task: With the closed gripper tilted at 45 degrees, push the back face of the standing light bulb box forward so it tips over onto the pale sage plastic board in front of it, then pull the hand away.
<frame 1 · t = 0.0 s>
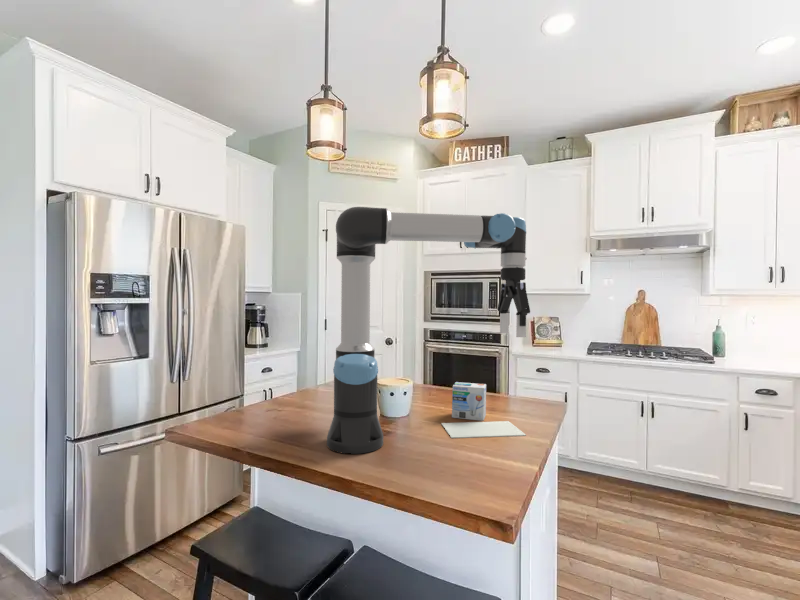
hand: (512, 335, 131), 28 cm above the countertop, tool pointing down, fingers open, 13 cm apart
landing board: (481, 429, 125), on the countertop
light bulb box: (469, 417, 138), on the countertop
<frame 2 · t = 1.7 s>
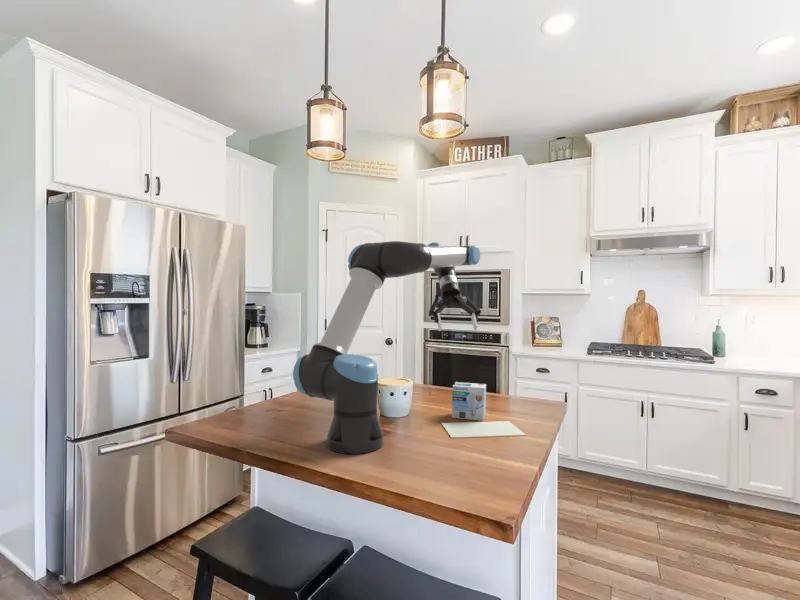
hand: (458, 328, 155), 28 cm above the countertop, tool tilted 45°, fingers open, 13 cm apart
nothing on the countertop moved.
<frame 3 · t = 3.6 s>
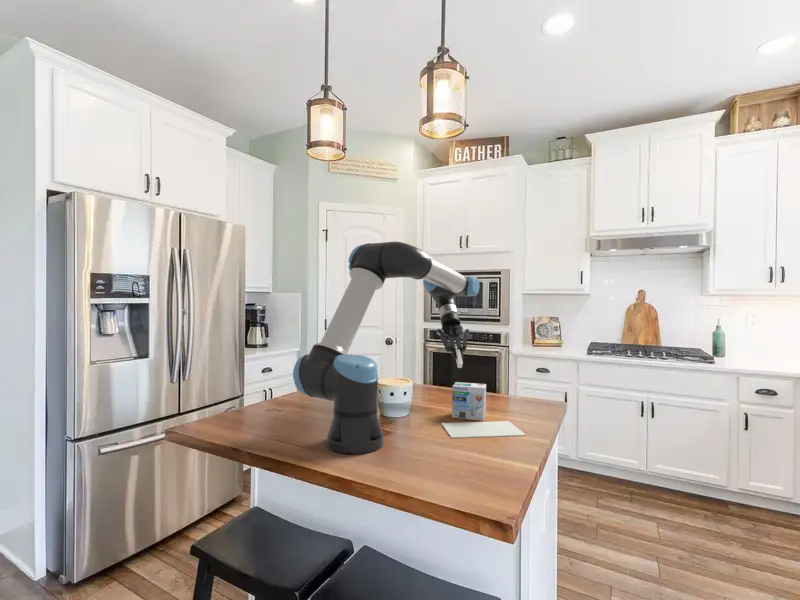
hand: (460, 365, 153), 15 cm above the countertop, tool tilted 45°, fingers closed
nothing on the countertop moved.
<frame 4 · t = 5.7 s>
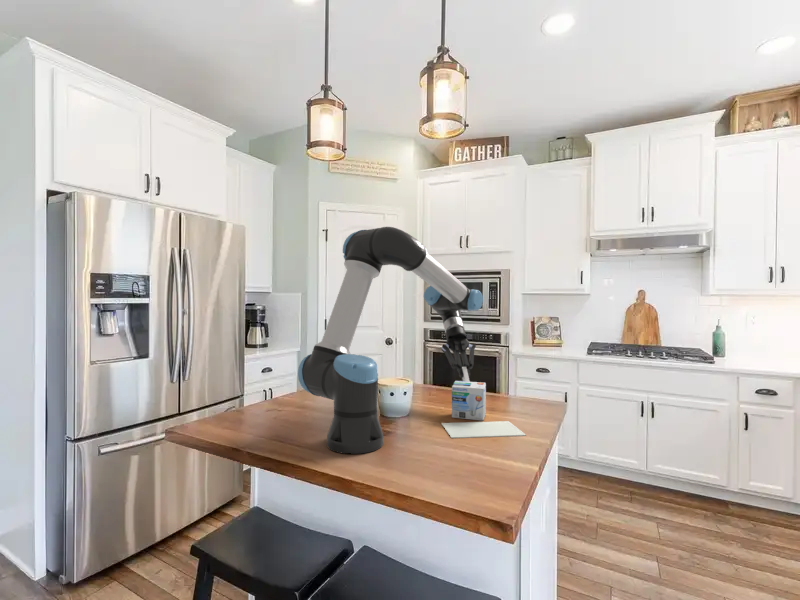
hand: (467, 384, 142), 10 cm above the countertop, tool tilted 45°, fingers closed
light bulb box: (469, 416, 138), on the countertop, touching gripper
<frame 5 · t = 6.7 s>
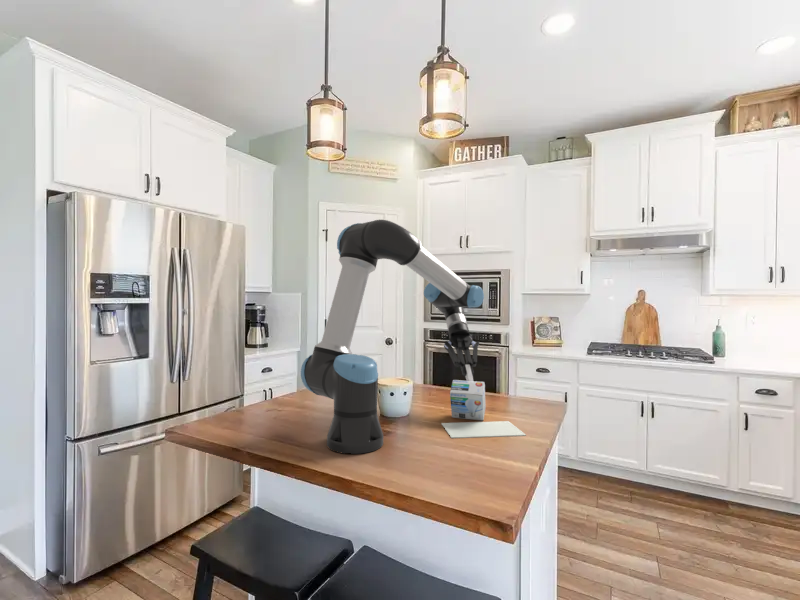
hand: (470, 383, 137), 11 cm above the countertop, tool tilted 45°, fingers closed
light bulb box: (468, 412, 138), point 1 cm above the countertop
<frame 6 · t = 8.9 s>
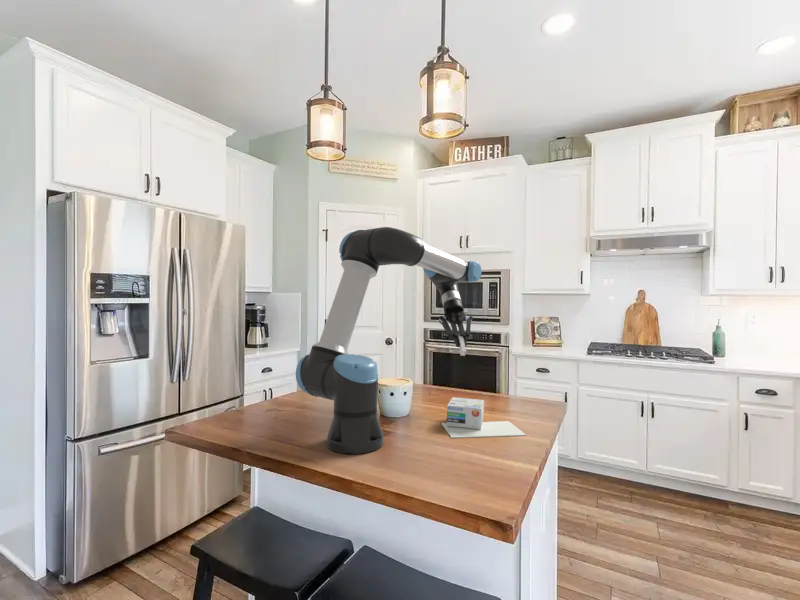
hand: (463, 353, 146), 20 cm above the countertop, tool tilted 45°, fingers closed
light bulb box: (468, 407, 135), point 4 cm above the countertop, touching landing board
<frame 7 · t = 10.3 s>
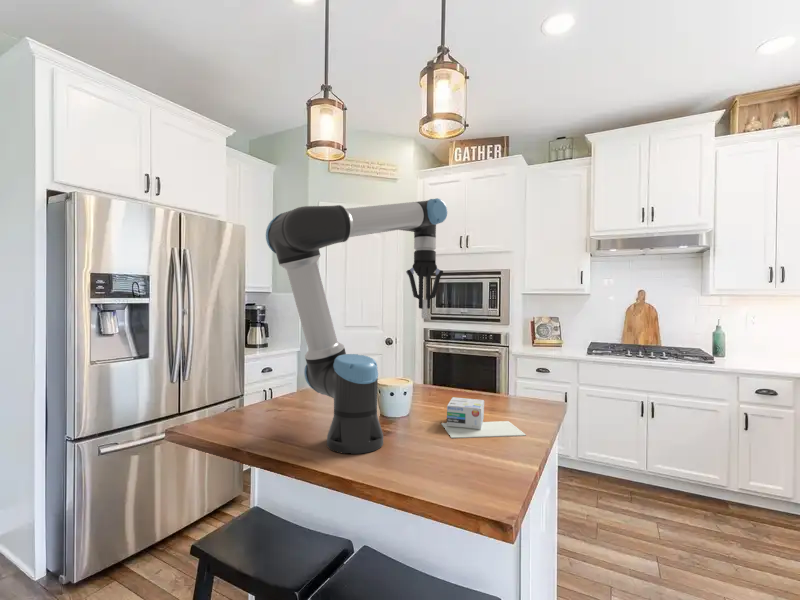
hand: (424, 318, 144), 32 cm above the countertop, tool pointing down, fingers closed
nothing on the countertop moved.
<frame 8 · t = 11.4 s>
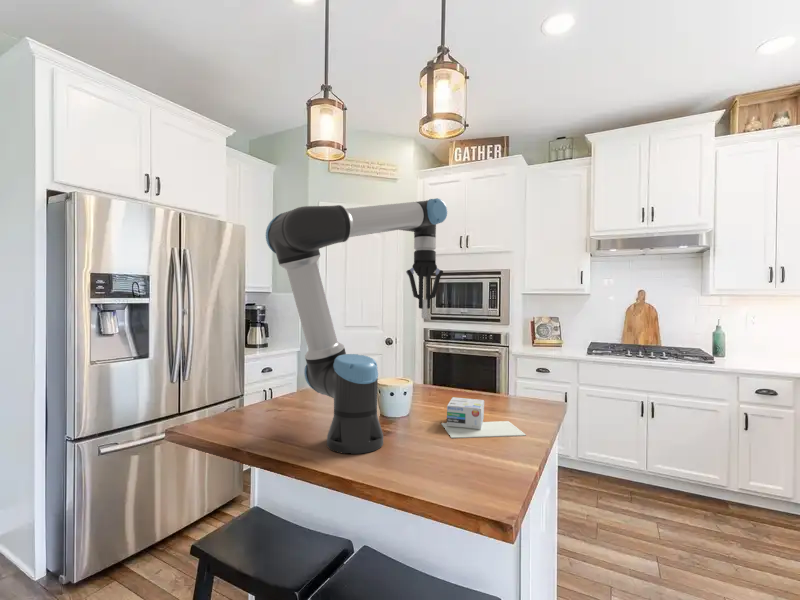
hand: (424, 318, 144), 32 cm above the countertop, tool pointing down, fingers closed
nothing on the countertop moved.
at the end: light bulb box tilted 91°; light bulb box inside the target area (5.5 cm from its centre), point 3.7 cm above the countertop; light bulb box touching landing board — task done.
